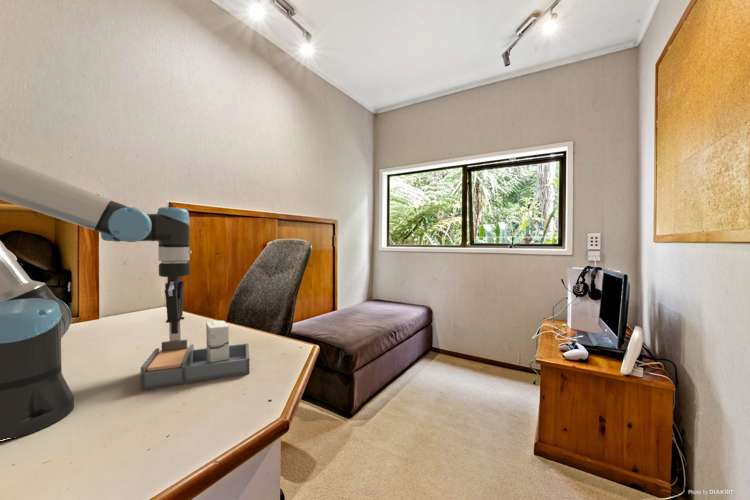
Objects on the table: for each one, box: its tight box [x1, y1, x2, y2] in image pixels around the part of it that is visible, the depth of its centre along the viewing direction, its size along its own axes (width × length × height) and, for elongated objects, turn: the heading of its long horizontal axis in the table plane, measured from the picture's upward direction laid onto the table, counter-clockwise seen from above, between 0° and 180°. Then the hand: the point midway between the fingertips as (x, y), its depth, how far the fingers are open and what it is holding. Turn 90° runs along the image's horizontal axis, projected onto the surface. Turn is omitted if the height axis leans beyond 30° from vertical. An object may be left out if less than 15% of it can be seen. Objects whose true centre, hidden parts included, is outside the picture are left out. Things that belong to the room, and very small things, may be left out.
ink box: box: [205, 320, 230, 364], centre depth 85 cm, size 9×5×12 cm, turn 35°
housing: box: [140, 342, 250, 391], centre depth 84 cm, size 24×14×6 cm, turn 113°
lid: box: [147, 339, 190, 371], centre depth 82 cm, size 7×13×3 cm, turn 23°
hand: (175, 343), depth 88 cm, fingers closed
